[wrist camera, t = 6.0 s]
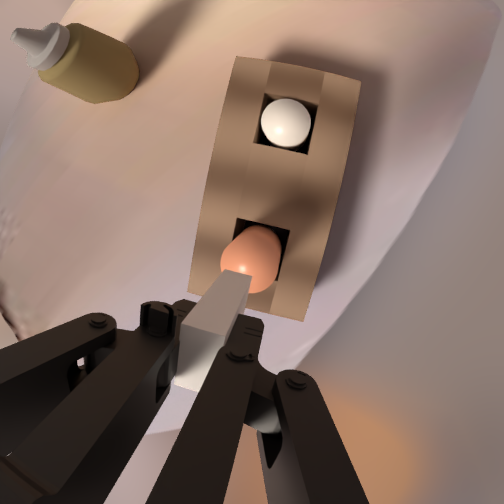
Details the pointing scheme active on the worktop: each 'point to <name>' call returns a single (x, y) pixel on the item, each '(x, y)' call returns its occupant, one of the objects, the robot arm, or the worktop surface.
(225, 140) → the walnut plug block
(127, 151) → the worktop surface
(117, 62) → the squeeze bottle
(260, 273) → the terracotta plug
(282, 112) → the white oval piece
